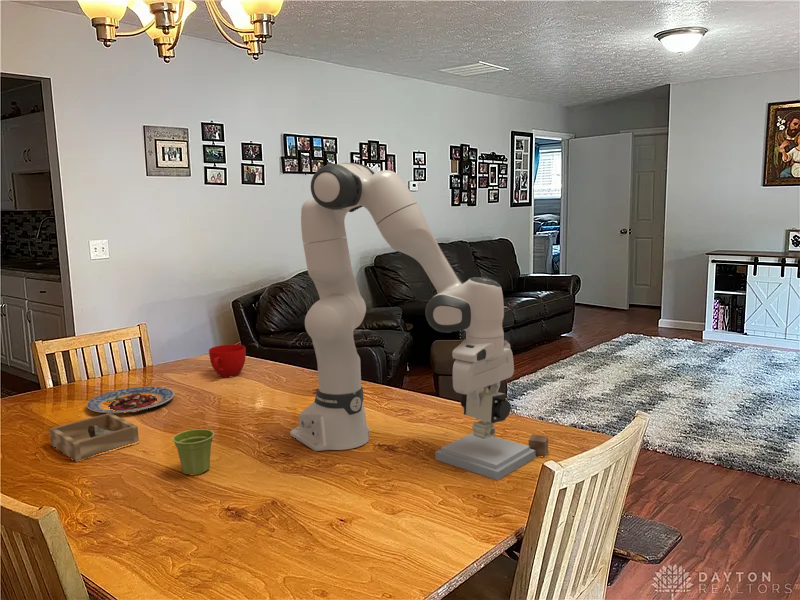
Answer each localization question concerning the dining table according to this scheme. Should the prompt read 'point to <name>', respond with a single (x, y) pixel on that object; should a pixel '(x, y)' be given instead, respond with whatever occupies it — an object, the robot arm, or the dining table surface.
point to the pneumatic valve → (486, 411)
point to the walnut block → (539, 444)
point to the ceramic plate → (130, 399)
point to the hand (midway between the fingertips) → (484, 403)
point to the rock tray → (82, 446)
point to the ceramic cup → (227, 359)
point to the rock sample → (96, 431)
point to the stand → (486, 455)
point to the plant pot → (194, 450)
